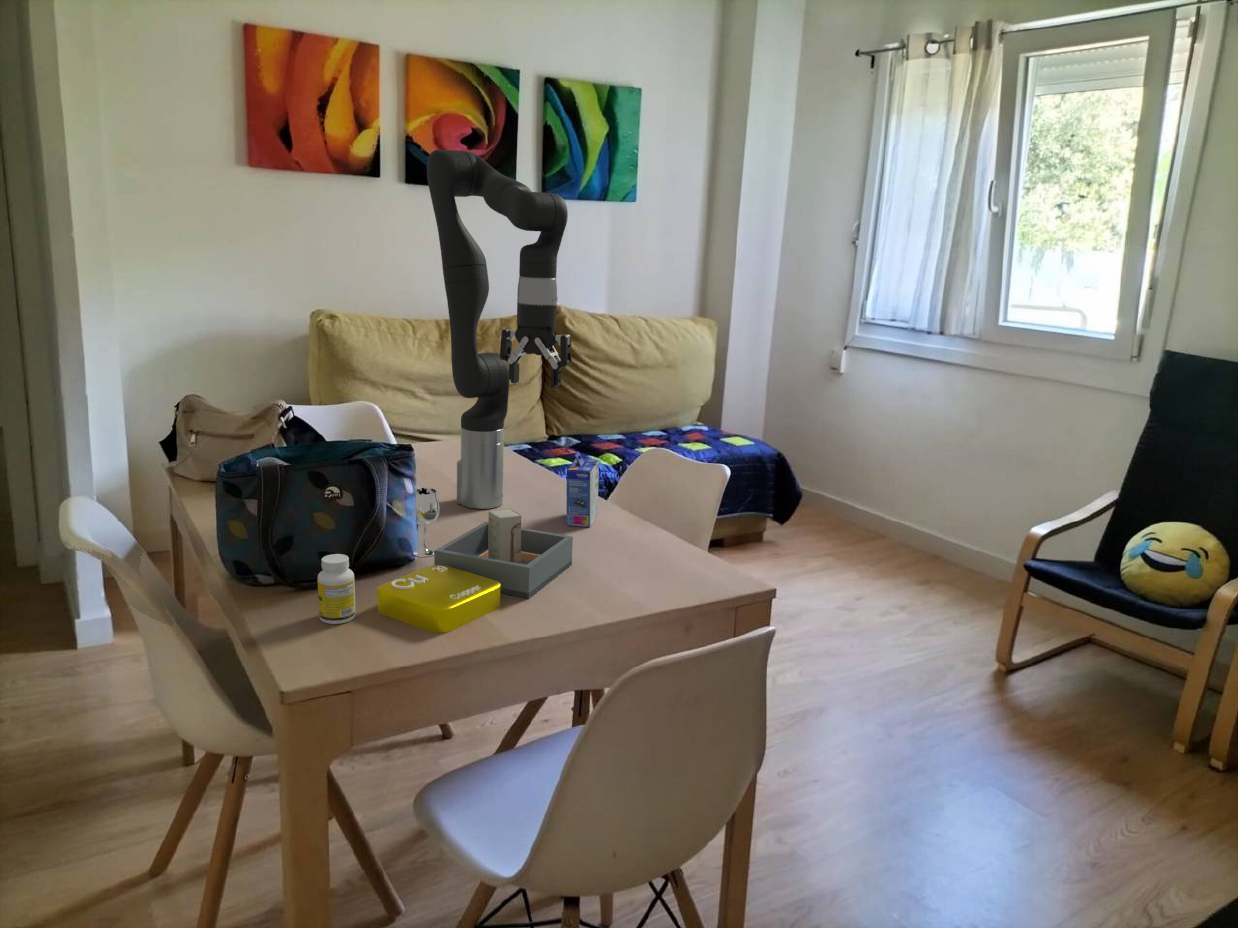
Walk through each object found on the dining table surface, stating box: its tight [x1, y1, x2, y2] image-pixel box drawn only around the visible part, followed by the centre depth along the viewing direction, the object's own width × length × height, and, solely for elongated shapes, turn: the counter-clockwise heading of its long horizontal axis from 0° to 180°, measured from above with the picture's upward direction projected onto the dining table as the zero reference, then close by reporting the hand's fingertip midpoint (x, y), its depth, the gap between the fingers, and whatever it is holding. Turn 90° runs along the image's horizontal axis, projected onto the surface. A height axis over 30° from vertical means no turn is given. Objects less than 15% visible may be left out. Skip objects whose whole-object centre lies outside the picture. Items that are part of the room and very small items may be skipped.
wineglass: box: [415, 487, 441, 558], centre depth 171 cm, size 6×6×12 cm
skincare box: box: [488, 508, 522, 564], centre depth 164 cm, size 5×4×10 cm
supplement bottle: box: [317, 553, 356, 625], centre depth 142 cm, size 5×5×10 cm
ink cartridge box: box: [566, 451, 600, 528], centre depth 195 cm, size 10×6×14 cm, turn 172°
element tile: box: [376, 564, 502, 634], centre depth 148 cm, size 15×15×5 cm
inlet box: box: [433, 521, 574, 600], centre depth 164 cm, size 18×18×6 cm
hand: (534, 385), depth 180 cm, fingers open, 8 cm apart
